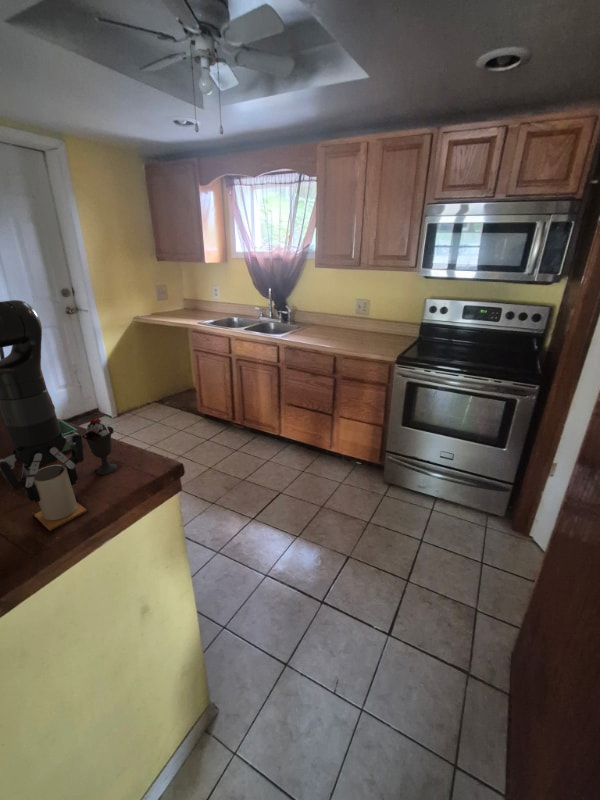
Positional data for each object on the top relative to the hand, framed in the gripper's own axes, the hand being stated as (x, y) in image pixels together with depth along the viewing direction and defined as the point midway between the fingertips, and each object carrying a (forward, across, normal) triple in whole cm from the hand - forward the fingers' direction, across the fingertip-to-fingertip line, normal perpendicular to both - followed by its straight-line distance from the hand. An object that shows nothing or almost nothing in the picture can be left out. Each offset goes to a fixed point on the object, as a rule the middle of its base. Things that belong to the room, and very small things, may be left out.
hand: (54, 491), depth 73 cm
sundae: (+6, -14, -8) cm, 17 cm away
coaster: (+6, 0, 0) cm, 6 cm away
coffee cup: (+5, 0, 0) cm, 5 cm away
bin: (+5, -11, -29) cm, 31 cm away
